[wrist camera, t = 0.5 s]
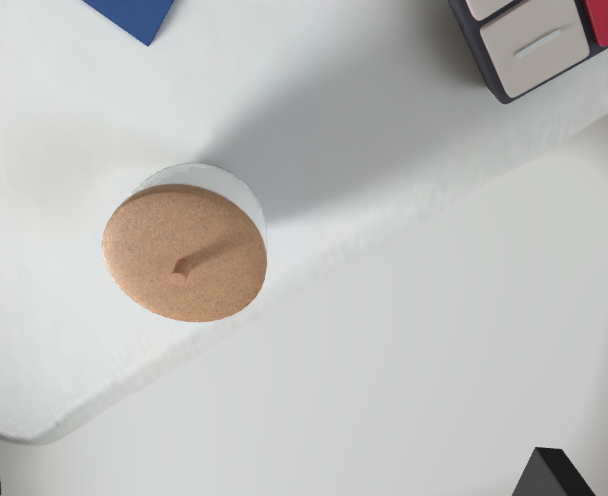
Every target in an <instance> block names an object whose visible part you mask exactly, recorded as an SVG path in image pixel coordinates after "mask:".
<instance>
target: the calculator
mask: <svg viewBox="0 0 608 496" xmlns="http://www.w3.org/2000/svg"><path fill="white" fill-rule="evenodd" d="M448 1H449V4H450V6H451V8H452V10H453V12H454V15H455V17H456V19H457V21H458V23H459V26H460V28H461V30H462V32H463V34H464V37H465V39H466V41H467V43H468V45H469V48H470V50H471V52H472V54H473V56H474V59H475V61H476V63H477V65H478V67H479V70H480V72H481V74H482V76H483V78H484V81H485V83H486V85H487V87H488V88H489V89H490V90H491V92H492V93H493V94H494V95H495V97H496V98H497V99H498V100H499V101H500V102H501V103H502V104H508V103H510V102H512V101H514V100H516V99H518V98H520V97H521V96H523V95H525V94H527V93H529V92H530V91H532V90H534V89H536V88H538V87H539V86H541V85H543V84H545V83H546V82H548V81H550V80H552V79H554V78H555V77H557V76H559V75H561V74H563V73H564V72H566V71H568V70H570V69H572V68H573V67H575V66H577V65H579V64H581V63H582V62H584V61H586V60H588V59H589V58H591V57H593V56H595V55H597V54H598V53H600V52H602V51H604V50H606V49H607V48H608V0H448Z"/></svg>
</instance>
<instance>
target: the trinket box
mask: <svg viewBox="0 0 608 496" xmlns="http://www.w3.org/2000/svg"><path fill="white" fill-rule="evenodd" d="M102 244H103V255H104V259H105V262H106V265H107V267H108V270H109V272H110V274H111V276H112V277H113V279H114V280H115V282H116V283H117V285H118V286H119V287H120V288H121V289H122V290H123V291H124V293H126V294H127V295H128V296H129V297H130V298H131V299H132V300H133V301H135V302H136V303H138V304H139V305H141V306H142V307H144V308H146V309H148V310H150V311H151V312H153V313H156V314H159V315H161V316H164V317H167V318H171V319H174V320H179V321H186V322H208V321H214V320H219V319H223V318H226V317H228V316H231V315H233V314H235V313H237V312H239V311H241V310H242V309H243V308H245V307H246V306H247V305H249V304H250V303H251V302H252V301H253V300H254V298H255V297H256V296H257V294H258V293H259V291H260V290H261V287H262V285H263V282H264V279H265V273H266V268H267V249H268V236H267V226H266V222H265V217H264V213H263V211H262V208H261V206H260V204H259V202H258V201H257V199H256V197H255V196H254V194H253V193H252V192H251V190H250V189H249V188H248V187H247V186H246V185H245V184H244V183H243V182H242V181H241V180H240V179H238V178H237V177H235V176H234V175H232V174H231V173H229V172H227V171H225V170H223V169H220V168H217V167H214V166H211V165H206V164H199V163H187V164H179V165H175V166H171V167H168V168H165V169H163V170H161V171H158V172H156V173H155V174H153V175H151V176H150V177H149V178H147V179H146V180H144V181H143V182H142V183H141V184H140V185H138V186H137V187H136V188H135V189H134V190H133V191H132V193H131V194H130V195H129V196H128V197H127V198H126V200H125V201H124V202H123V203H122V204H121V205H120V206H119V207H118V208H117V209H116V210H115V212H114V213H113V215H112V217H111V218H110V220H109V221H108V223H107V226H106V228H105V231H104V235H103V243H102Z"/></svg>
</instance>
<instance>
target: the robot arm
mask: <svg viewBox="0 0 608 496" xmlns="http://www.w3.org/2000/svg"><path fill="white" fill-rule="evenodd" d="M0 495H1V483H0ZM512 496H595V494H594V493H593V492H592V490H591V489H590V487H589V486H588V485H587V483H586V482H585V480H584V479H583V478H582V476H581V475H580V473H579V472H578V471H577V469H576V468H575V467H574V465H573V464H572V462H571V461H570V460H569V458H568V457H567V456H566V455H565V453H564V451H563V450H562V449H554V448H541V447H535V449H534V451H533V453H532V455H531V457H530V459H529V461H528V463H527V465H526V467H525V469H524V471H523V474H522V476H521V478H520V480H519V482H518V484H517V486H516V488H515V490H514V492H513V494H512Z"/></svg>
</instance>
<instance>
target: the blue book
mask: <svg viewBox="0 0 608 496" xmlns="http://www.w3.org/2000/svg"><path fill="white" fill-rule="evenodd" d="M82 1H84V2H85V3H87V4H88V5H90V6H91V7H92V8H94V9H95V10H97V11H98V12H99V13H101V14H102V15H104V16H105V17H107V18H108V19H109V20H111V21H112V22H114V23H115V24H117V25H118V26H119V27H121V28H122V29H124V30H125V31H126V32H128V33H129V34H131V35H132V36H134V37H135V38H136V39H138V40H139V41H141V42H142V43H143V44H145V45H146V46H149V45H150V44H151V43H152V41H153V39H154V37H155V35H156V33H157V31H158V29H159V27H160V26H161V24H162V22H163V20H164V18H165V16H166V14H167V12H168V10H169V9H170V7H171V5H172V3H173V1H174V0H82Z"/></svg>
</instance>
